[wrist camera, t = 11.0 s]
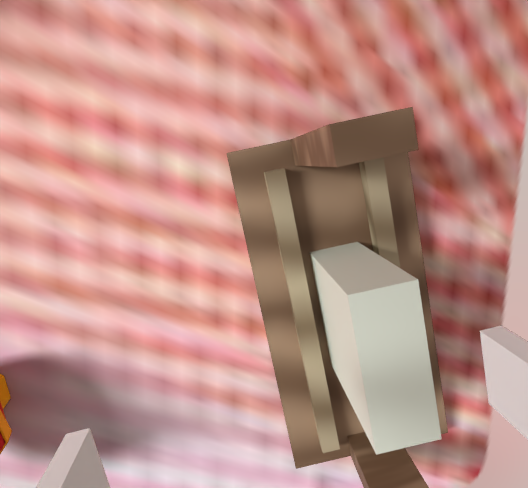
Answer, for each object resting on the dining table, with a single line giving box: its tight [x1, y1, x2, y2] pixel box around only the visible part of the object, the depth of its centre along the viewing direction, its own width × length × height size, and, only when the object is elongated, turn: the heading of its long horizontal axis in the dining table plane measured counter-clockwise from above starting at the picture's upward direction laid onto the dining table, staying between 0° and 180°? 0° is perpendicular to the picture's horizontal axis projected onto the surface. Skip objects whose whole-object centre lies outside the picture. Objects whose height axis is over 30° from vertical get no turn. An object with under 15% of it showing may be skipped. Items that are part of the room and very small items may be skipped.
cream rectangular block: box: [310, 242, 441, 455], centre depth 31 cm, size 10×4×12 cm, turn 12°
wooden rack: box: [227, 107, 448, 488], centre depth 31 cm, size 28×14×16 cm, turn 12°
